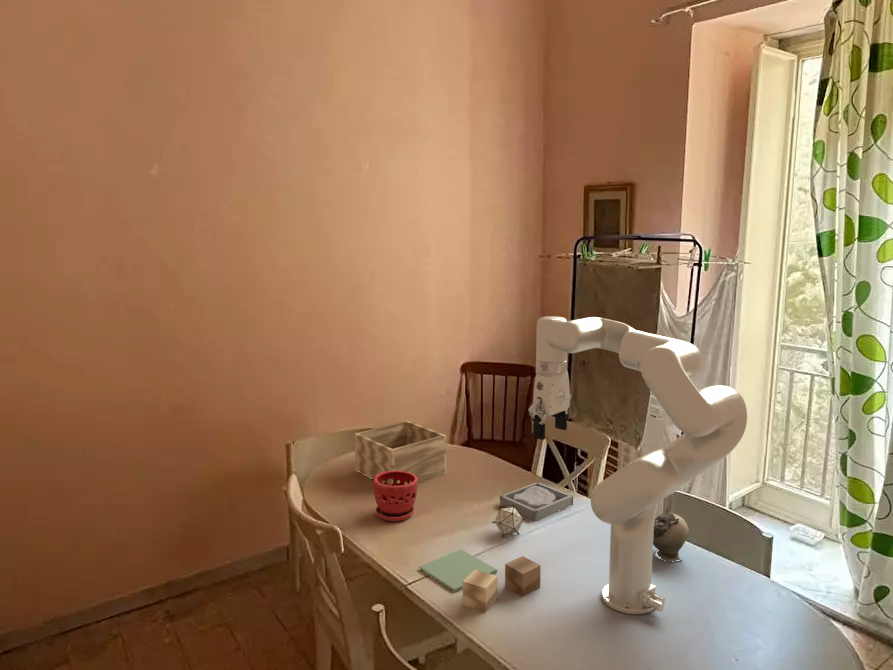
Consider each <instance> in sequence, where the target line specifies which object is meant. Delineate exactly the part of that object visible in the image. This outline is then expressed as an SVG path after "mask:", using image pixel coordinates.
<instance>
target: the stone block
mask: <svg viewBox="0 0 893 670" xmlns="http://www.w3.org/2000/svg"><path fill="white" fill-rule="evenodd" d="M513 500H515V501H517V502H519V503H522V504H524V505H526V506H528V507H531V508H533V509H538V508H540V507H543V506H545V505H548V504H550V503H552V502H555V501H557V500H556V497H555V495H554V494H553V493H551V492H550V491H548V490H547V489H544V488H542V487H538V486H532V487H530V488H528V489H526V490H525V491H524V492H523V493H521V494H515V495H514V497H513Z"/></svg>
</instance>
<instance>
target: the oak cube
mask: <svg viewBox="0 0 893 670" xmlns="http://www.w3.org/2000/svg"><path fill="white" fill-rule="evenodd" d="M498 578H499V577H498V575H495V574H489V573H485V572H482V571H478V570H474V571H473V572H472V573H471V574H470V575H469V576H468V577H467V578H466V579H465V580H464V581H463V589H462V606H465V607H468V608H471V609H475V610H479V611H481V612H484V613H487V612H488V611H489V610H490V609H491V607H492V606H493V605H494V604H495V603H496V602H497V601H498V598H499V597H498V596H499V595H498V593H499V590H498V584H499V583H498V582H499V581H498Z"/></svg>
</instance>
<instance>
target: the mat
mask: <svg viewBox="0 0 893 670" xmlns="http://www.w3.org/2000/svg"><path fill="white" fill-rule="evenodd" d="M419 568H420V569H421V570H423V571H424V572H426V573H427V574H429V575H430V576H432V577H433V578H435V579H436V580H437V581H436V580H435V579H434V580H435V581H436V582H438V581H439V582H440V583H439V582H438V583H439V584H441V583H442V584H441V585H443V586H444V585H445V587H446V586H447V587H448V589H449V590H450V589H451V590H450V591H452V592H453V591H454V593H456V592H458V590H459V591H460V590H463V589H462V588H463V581H464V580H465V579H466V578H467V577H468V576H469V575H470V574H471V573H472V572H473V571H474V570H478V571H482V572H485V573H489V574H492V575H495V574H497V573H498V569H497V568H495V567H493V566H491V565H490V564H488V563H486V562H484V561H483V560H481V559H479V558H478V557H476V556H474V555H472V554H471V553H469V552H467V551H466V550H463V549H462V548H460V549H457V550H455V551H453V552H451V553H448V554H445V555H443V556H441V557H438V558H436V559H434V560H431V561H429V562H426V563H425V564H422V565H420V566H419ZM420 569H419V570H420ZM421 570H420V571H421ZM423 571H422V572H423ZM424 572H423V573H424ZM426 573H425V574H426ZM427 574H426V575H427ZM429 575H428V576H429ZM430 576H429V577H430ZM432 577H431V578H432ZM433 578H432V579H433ZM447 587H446V588H447Z"/></svg>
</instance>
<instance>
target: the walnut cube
mask: <svg viewBox="0 0 893 670" xmlns="http://www.w3.org/2000/svg"><path fill="white" fill-rule="evenodd" d="M541 567H542V566H541V565H540V564H539V563H538V562H536V561H535V562H534V561H533V560H531V559H529V558H528V557H525V556H523V555H521V556H520V557H517V558H515V559H513V560H510V561H509V562H508V561H507V563H505V564H504V569H505V570H504V587H505V588H507V589H508V590H509V591H512V592H513V593H515V594H517V595H519V596H520V597H521V598H524V597H525V596H527V595H529V594H532V593H534V592H535V591H537V590H540V589H541Z"/></svg>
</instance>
